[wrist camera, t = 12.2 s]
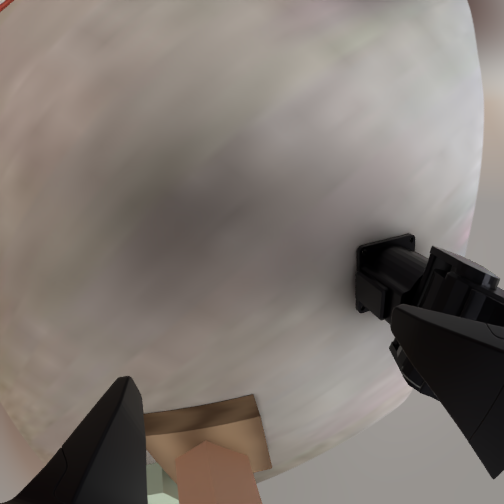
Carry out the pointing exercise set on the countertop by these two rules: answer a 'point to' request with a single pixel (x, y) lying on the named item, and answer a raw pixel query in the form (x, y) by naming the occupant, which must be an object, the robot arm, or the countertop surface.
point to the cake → (4, 4)
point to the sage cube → (160, 486)
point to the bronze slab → (208, 432)
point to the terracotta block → (215, 476)
